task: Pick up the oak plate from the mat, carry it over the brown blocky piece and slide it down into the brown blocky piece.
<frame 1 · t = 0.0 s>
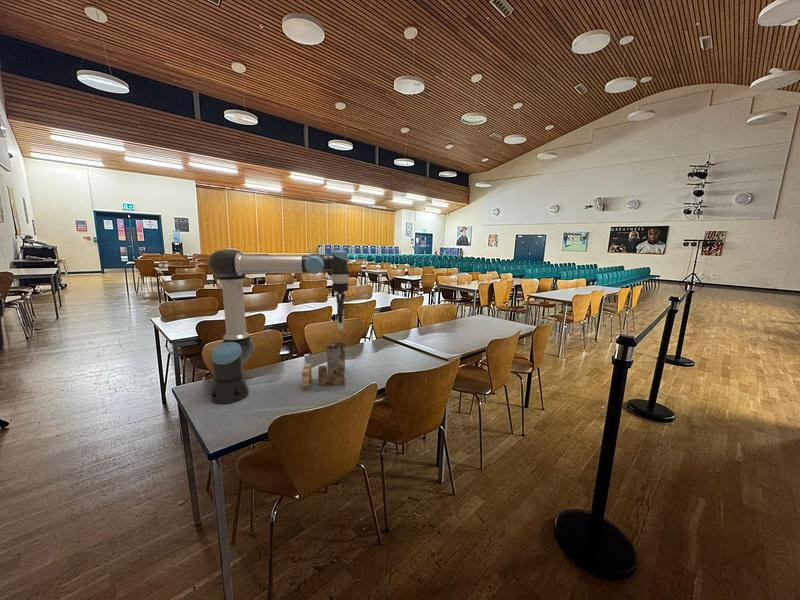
hand: (341, 325, 164), 28 cm above the table, fingers open, 13 cm apart
coffee box: (336, 374, 175), on the table
mat: (324, 386, 160), on the table
brown blocky piece: (331, 384, 160), resting on mat
oak plate: (307, 385, 159), point 1 cm above the table, touching mat
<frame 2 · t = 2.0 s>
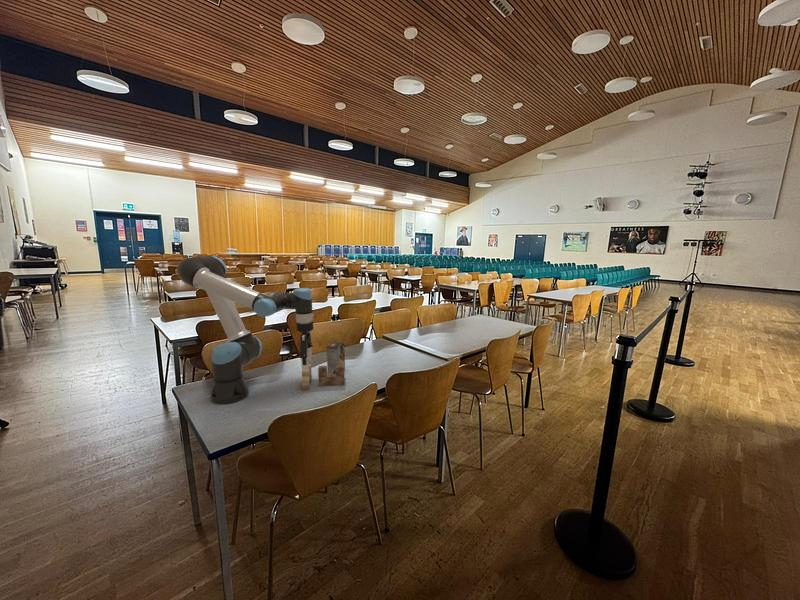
hand: (307, 365, 157), 11 cm above the table, fingers open, 13 cm apart
nothing on the table moved.
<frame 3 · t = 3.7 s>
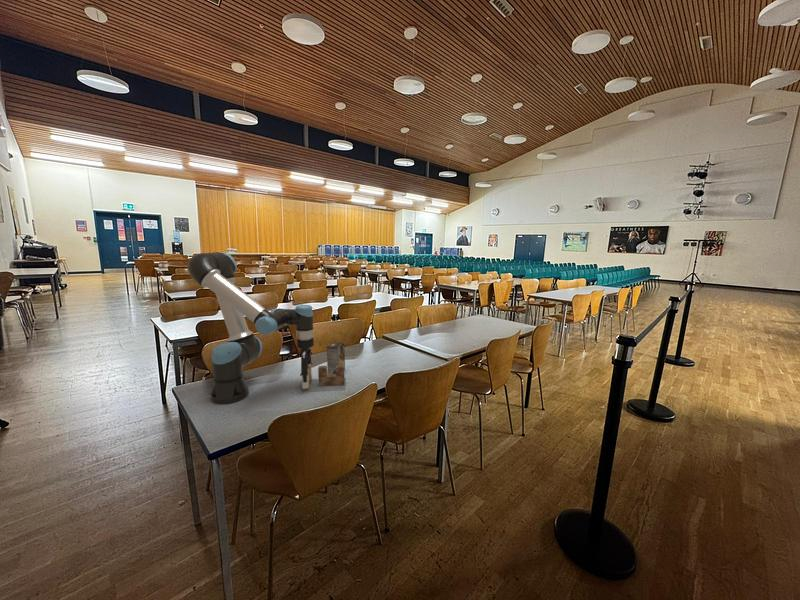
hand: (307, 383, 159), 2 cm above the table, fingers closed on oak plate, 10 cm apart
oak plate: (307, 385, 159), point 1 cm above the table, touching gripper, mat
everything else where it was.
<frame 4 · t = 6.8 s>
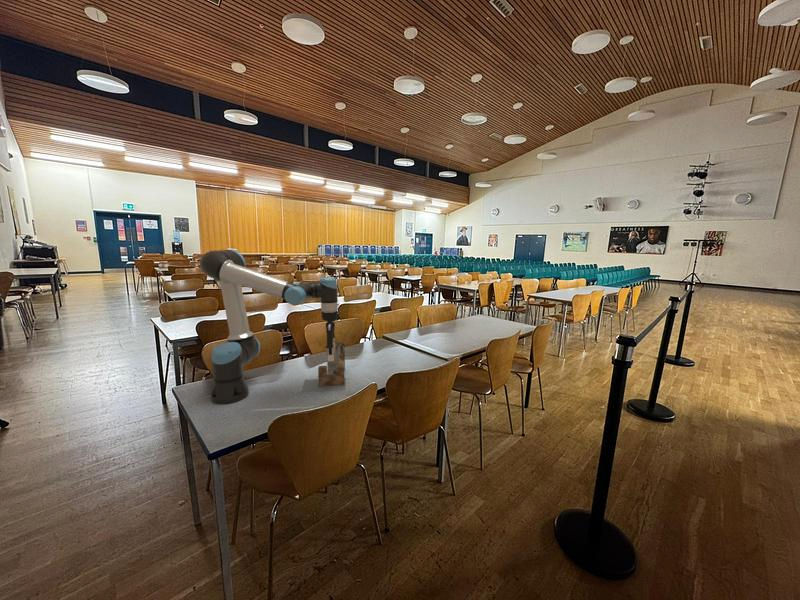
hand: (331, 356, 158), 15 cm above the table, fingers closed on oak plate, 10 cm apart
oak plate: (331, 359, 158), point 14 cm above the table, touching gripper
everything else where it was.
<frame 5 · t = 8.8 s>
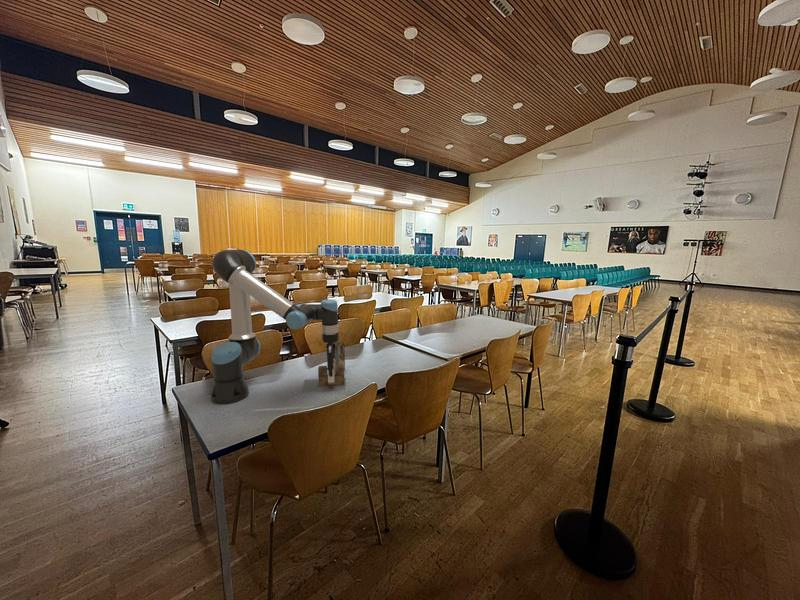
hand: (331, 377, 160), 4 cm above the table, fingers closed on oak plate, 10 cm apart
oak plate: (332, 380, 160), point 3 cm above the table, touching gripper
everything else where it was.
when the fingers open (3 cm above the table, at t = 10.2 s): oak plate stays where it is, resting on mat, brown blocky piece.
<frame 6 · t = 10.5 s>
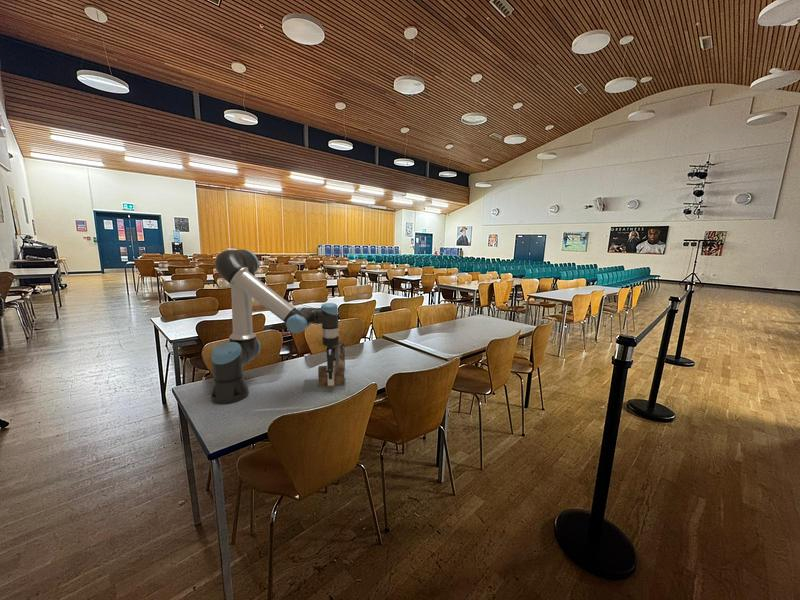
hand: (331, 379, 160), 4 cm above the table, fingers open, 13 cm apart
oak plate: (331, 384, 160), point 1 cm above the table, touching mat, brown blocky piece
everything else where it was.
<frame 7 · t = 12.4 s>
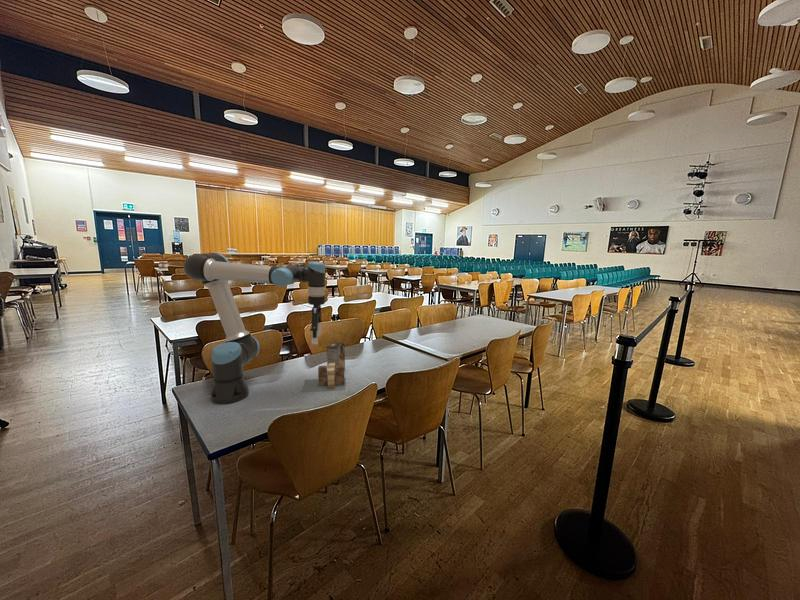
hand: (316, 339, 158), 23 cm above the table, fingers open, 13 cm apart
nothing on the table moved.
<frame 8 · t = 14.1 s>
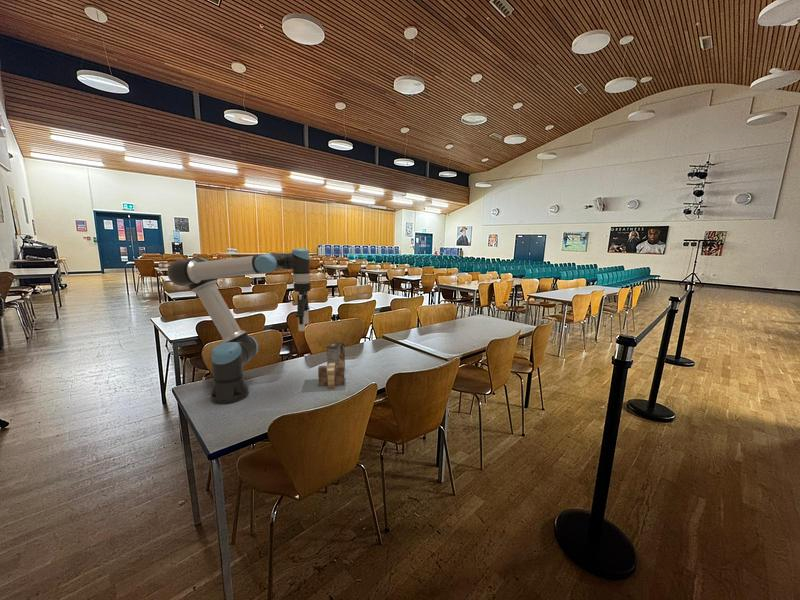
hand: (303, 327, 158), 29 cm above the table, fingers open, 13 cm apart
nothing on the table moved.
at the end: oak plate 0.0 cm from the target spot, point 1.0 cm above the table; oak plate tilted 0°; the gripper is holding nothing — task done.
